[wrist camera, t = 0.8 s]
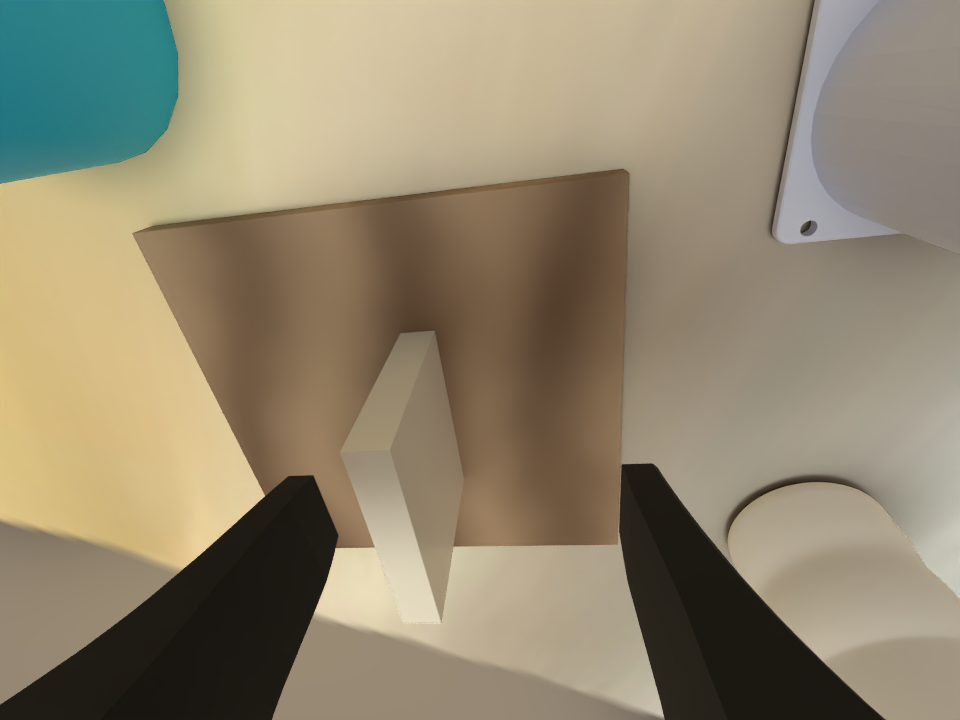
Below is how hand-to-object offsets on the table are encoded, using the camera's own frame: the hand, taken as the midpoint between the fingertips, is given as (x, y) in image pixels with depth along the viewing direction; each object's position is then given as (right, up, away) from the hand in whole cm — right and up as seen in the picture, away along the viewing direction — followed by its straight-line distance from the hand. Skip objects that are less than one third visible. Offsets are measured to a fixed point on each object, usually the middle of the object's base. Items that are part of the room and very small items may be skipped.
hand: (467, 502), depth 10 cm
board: (-3, +1, +11) cm, 11 cm away
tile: (-2, +1, +10) cm, 10 cm away
